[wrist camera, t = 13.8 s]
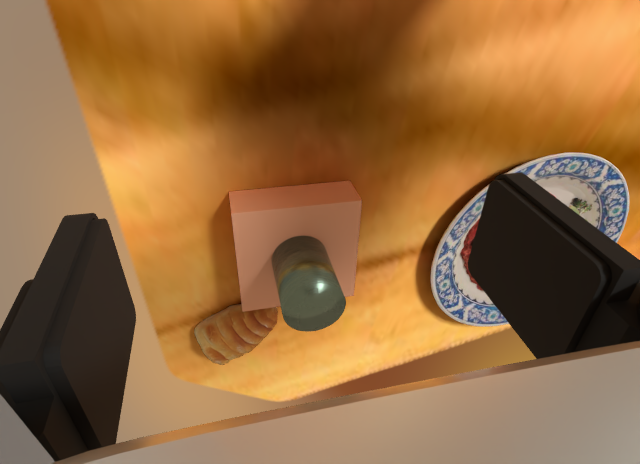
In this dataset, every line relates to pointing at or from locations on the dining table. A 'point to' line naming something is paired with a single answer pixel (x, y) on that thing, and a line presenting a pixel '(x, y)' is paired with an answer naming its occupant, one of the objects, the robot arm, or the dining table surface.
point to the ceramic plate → (562, 182)
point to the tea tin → (307, 284)
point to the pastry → (234, 332)
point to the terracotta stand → (293, 233)
